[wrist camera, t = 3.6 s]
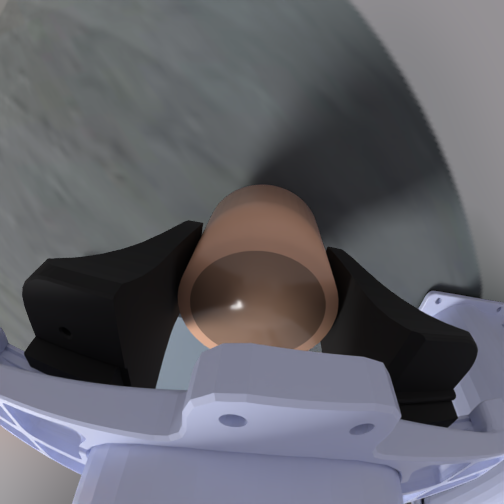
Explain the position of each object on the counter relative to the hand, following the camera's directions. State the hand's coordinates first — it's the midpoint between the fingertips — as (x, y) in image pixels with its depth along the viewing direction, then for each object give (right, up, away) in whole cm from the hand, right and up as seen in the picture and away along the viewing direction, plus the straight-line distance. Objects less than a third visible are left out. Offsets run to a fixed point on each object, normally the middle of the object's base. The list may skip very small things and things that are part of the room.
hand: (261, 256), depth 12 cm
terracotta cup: (0, +1, +1) cm, 2 cm away
